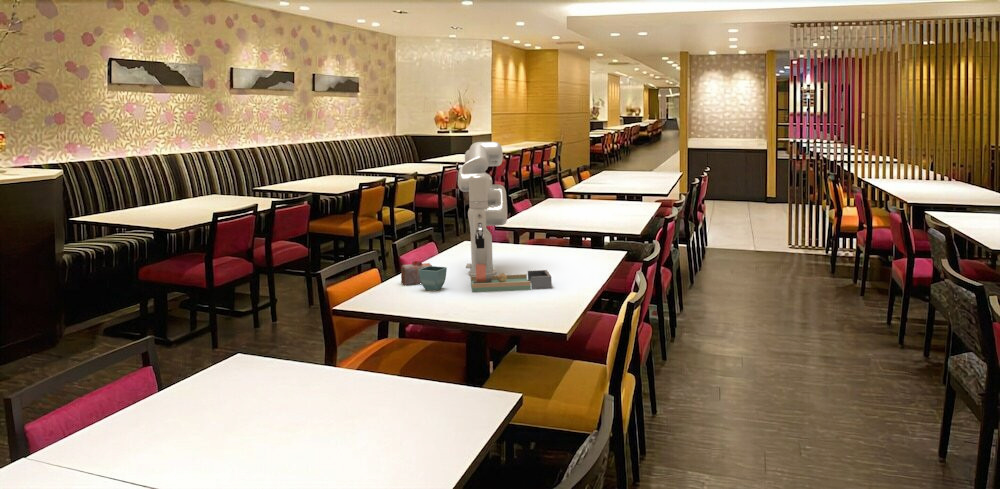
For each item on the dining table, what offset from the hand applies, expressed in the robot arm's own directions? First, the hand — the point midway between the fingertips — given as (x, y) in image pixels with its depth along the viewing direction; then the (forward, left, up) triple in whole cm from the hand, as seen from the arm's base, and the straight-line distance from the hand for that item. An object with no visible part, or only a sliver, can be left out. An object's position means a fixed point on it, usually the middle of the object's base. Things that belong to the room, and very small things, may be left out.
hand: (479, 246), depth 313 cm
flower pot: (-16, -12, -18) cm, 27 cm away
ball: (+7, +6, -14) cm, 16 cm away
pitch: (+6, +5, -18) cm, 19 cm away
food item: (-30, -6, -18) cm, 36 cm away
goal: (+18, +16, -18) cm, 30 cm away
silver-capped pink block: (0, +1, -16) cm, 16 cm away
